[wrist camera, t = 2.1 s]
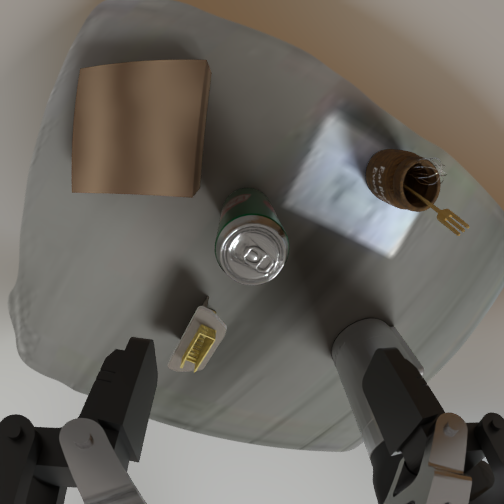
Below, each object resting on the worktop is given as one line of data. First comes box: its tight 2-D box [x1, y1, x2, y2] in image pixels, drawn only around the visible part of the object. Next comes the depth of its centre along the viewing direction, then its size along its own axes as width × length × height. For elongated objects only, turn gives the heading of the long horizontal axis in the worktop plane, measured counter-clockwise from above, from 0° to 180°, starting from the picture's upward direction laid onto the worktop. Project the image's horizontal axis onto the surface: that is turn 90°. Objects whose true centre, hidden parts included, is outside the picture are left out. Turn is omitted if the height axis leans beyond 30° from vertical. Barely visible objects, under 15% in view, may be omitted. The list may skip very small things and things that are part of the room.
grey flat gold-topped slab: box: [168, 296, 226, 372], centre depth 32 cm, size 12×18×7 cm, turn 151°
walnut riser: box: [72, 60, 212, 198], centre depth 24 cm, size 12×12×5 cm
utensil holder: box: [366, 149, 469, 236], centre depth 23 cm, size 6×6×12 cm
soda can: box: [215, 188, 289, 285], centre depth 24 cm, size 5×5×12 cm
